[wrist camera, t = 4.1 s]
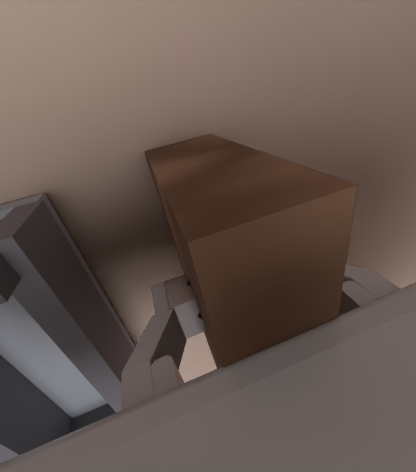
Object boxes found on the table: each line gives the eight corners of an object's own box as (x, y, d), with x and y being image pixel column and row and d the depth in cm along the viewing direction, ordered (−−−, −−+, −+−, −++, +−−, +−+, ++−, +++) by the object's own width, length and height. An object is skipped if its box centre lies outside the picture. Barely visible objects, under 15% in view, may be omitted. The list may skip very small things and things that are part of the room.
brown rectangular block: (212, 133, 11) (362, 182, 4) (239, 291, 16) (323, 426, 9) (144, 151, 10) (186, 242, 4) (195, 308, 15) (251, 464, 9)
